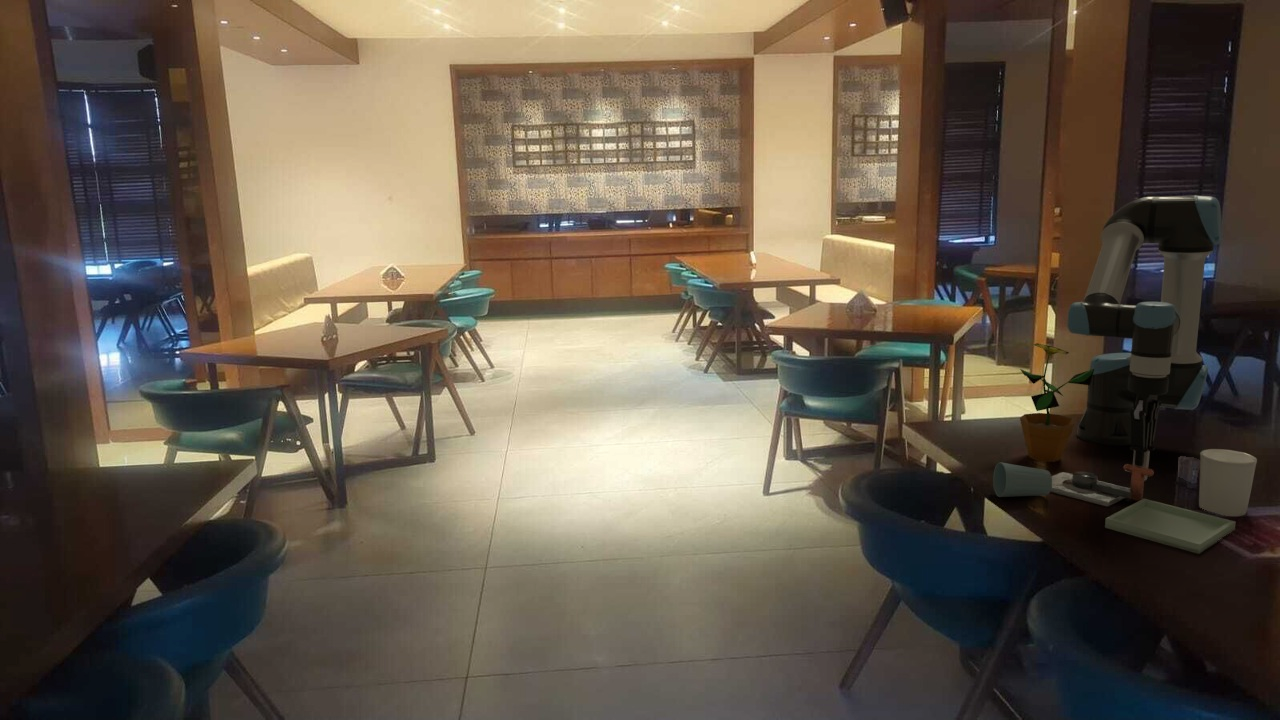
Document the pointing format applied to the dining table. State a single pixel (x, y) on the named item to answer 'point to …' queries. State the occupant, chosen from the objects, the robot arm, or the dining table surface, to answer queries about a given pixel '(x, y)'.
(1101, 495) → the crank plate
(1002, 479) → the cup
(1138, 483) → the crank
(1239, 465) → the candle holder
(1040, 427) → the potted plant
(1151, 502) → the tray
